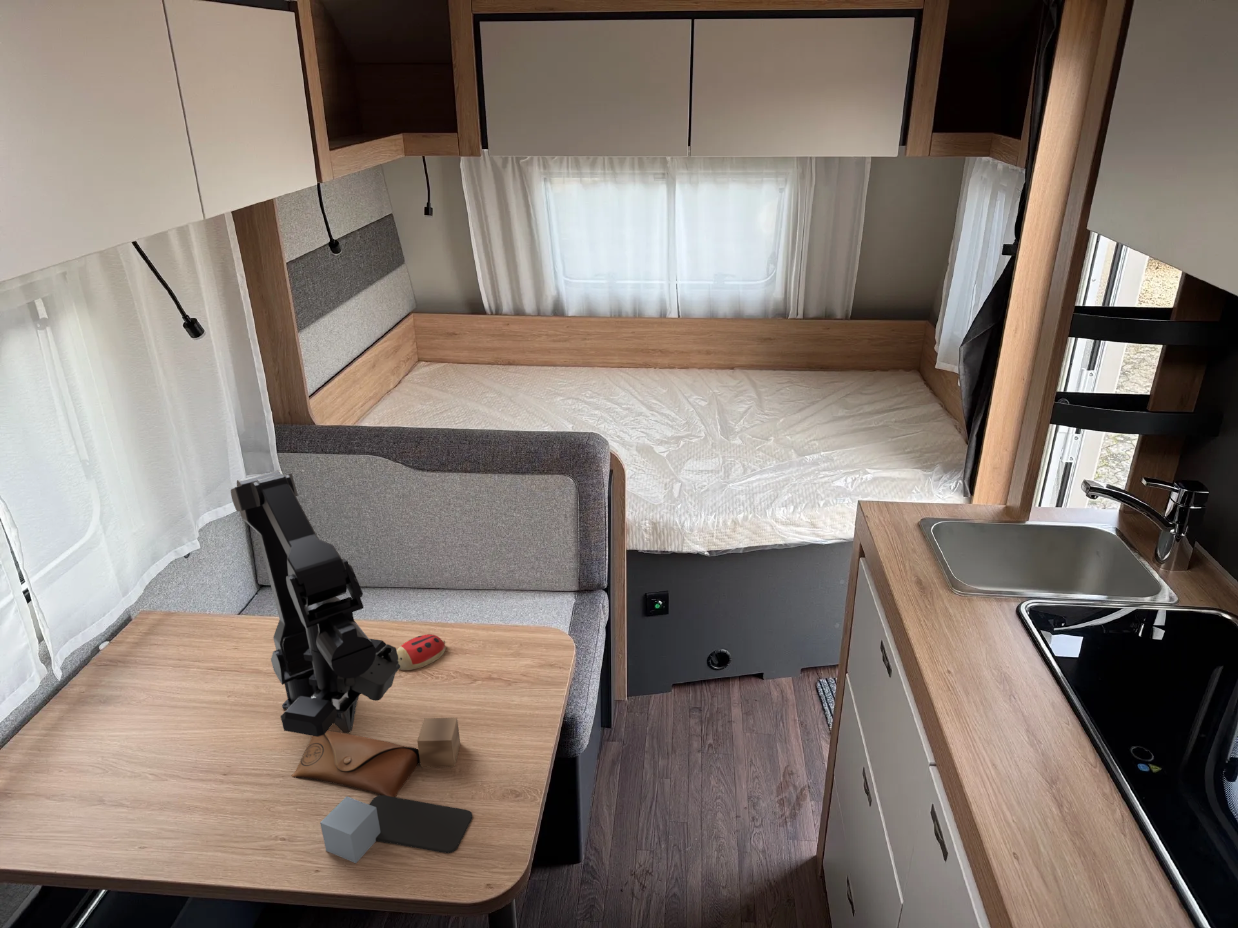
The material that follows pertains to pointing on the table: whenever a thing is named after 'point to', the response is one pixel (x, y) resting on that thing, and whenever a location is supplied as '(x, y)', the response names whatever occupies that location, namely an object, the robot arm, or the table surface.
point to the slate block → (350, 829)
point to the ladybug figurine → (420, 651)
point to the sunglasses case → (358, 762)
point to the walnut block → (438, 742)
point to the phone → (420, 824)
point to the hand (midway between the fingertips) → (347, 731)
